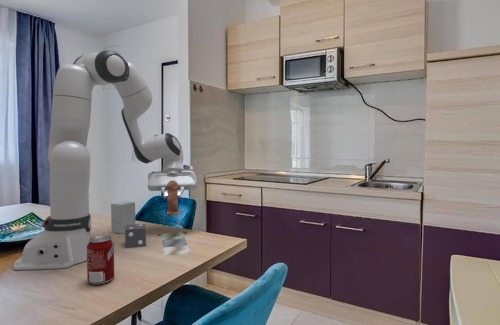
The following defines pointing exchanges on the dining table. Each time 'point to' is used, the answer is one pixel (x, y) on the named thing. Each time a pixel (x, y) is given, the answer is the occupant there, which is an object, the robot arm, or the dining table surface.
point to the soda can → (100, 260)
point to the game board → (174, 243)
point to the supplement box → (122, 215)
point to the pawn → (172, 198)
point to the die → (135, 235)
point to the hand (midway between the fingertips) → (172, 197)
